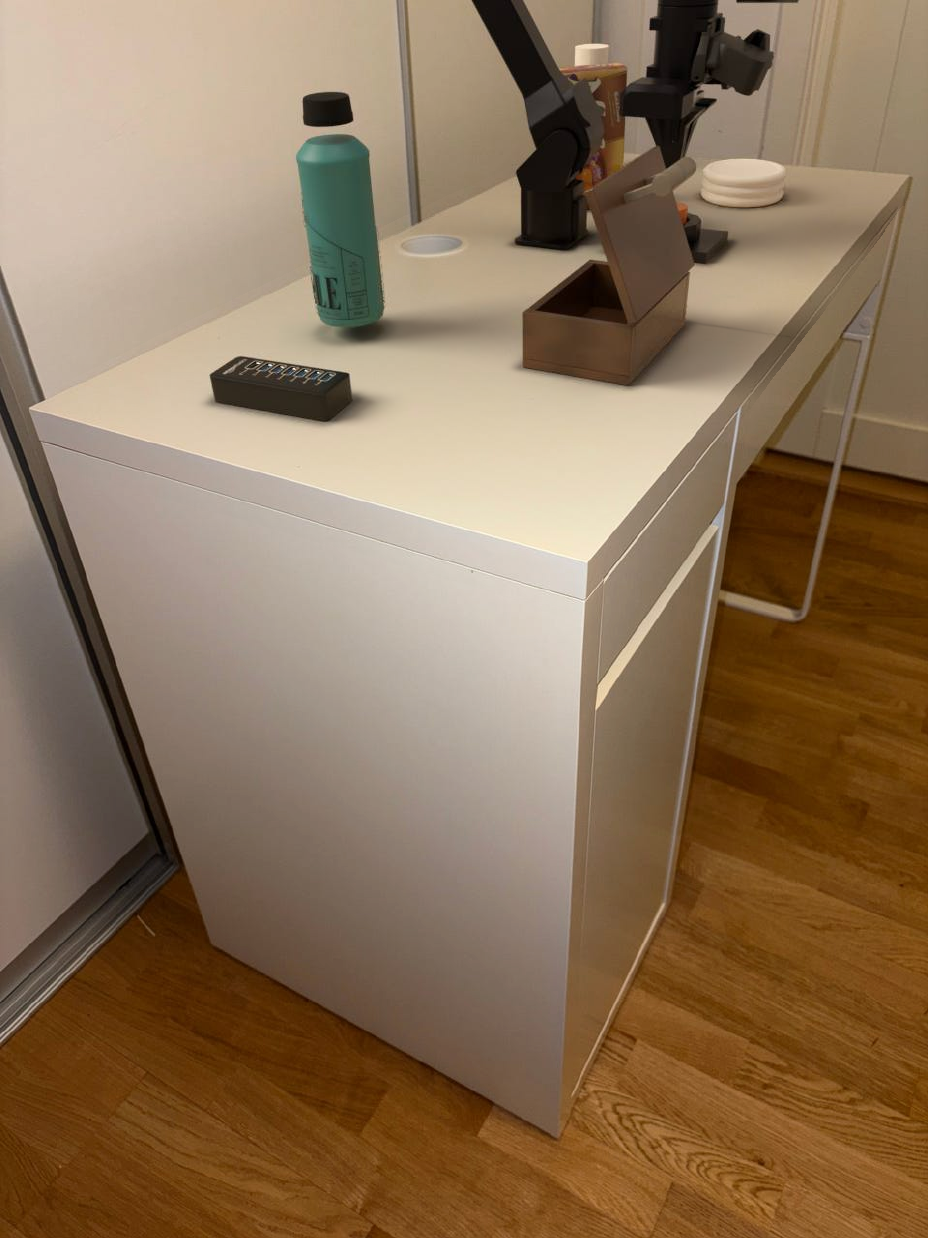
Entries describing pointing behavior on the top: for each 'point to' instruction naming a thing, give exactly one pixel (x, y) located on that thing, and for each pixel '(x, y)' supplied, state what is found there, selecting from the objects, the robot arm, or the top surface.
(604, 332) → the chest
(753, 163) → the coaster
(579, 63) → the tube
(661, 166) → the chest lid
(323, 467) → the top surface
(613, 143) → the candy box
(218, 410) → the top surface
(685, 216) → the power button
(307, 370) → the multiport hub
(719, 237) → the control block
